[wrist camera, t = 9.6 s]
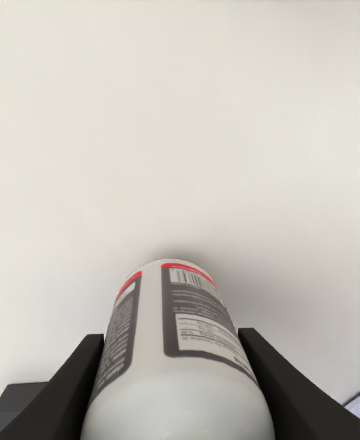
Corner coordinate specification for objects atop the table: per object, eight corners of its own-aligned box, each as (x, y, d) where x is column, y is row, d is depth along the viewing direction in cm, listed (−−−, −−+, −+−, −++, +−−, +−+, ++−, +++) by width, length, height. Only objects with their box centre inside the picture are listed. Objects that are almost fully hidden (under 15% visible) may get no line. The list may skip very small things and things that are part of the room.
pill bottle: (143, 359, 15) (118, 740, 5) (97, 281, 13) (-53, 621, 4) (233, 322, 14) (372, 649, 5) (196, 238, 13) (300, 485, 4)
